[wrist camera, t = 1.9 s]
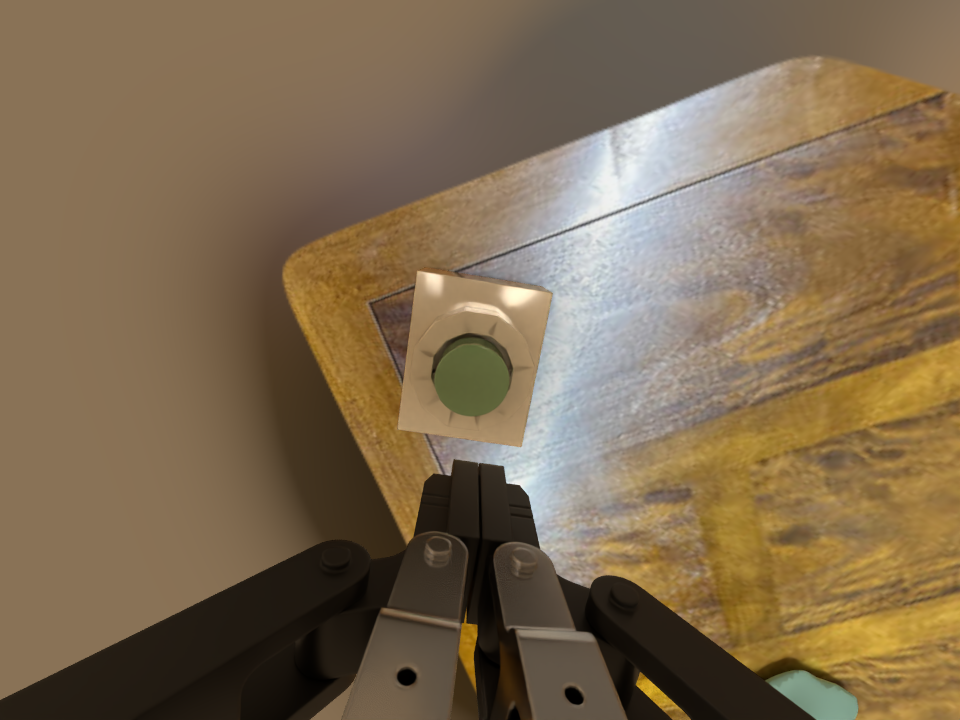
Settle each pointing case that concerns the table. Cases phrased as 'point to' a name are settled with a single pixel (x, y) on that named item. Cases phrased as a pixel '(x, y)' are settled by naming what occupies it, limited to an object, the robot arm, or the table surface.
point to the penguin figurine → (816, 695)
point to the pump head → (472, 377)
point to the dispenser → (483, 314)
